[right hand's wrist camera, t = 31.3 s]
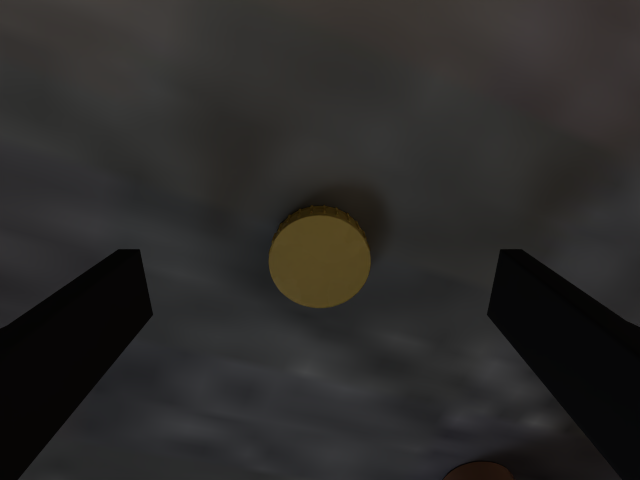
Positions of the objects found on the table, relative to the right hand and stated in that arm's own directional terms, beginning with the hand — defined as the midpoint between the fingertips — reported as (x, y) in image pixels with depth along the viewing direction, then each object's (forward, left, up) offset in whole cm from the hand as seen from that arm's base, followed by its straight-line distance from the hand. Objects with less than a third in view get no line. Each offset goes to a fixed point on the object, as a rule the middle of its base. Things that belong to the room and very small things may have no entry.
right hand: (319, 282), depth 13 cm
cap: (0, 0, -2) cm, 2 cm away
